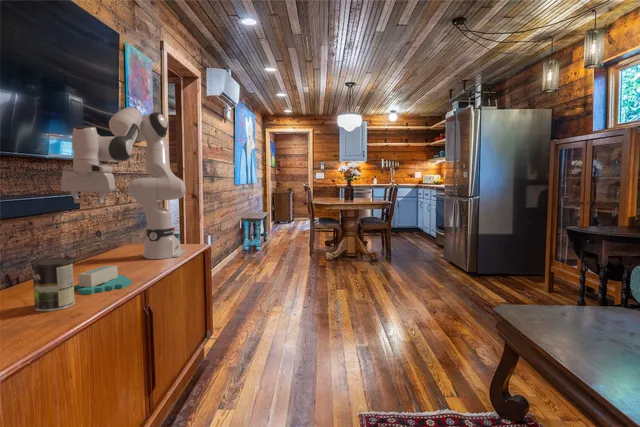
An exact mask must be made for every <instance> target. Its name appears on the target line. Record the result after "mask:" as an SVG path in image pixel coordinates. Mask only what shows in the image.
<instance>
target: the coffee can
mask: <svg viewBox="0 0 640 427" xmlns="http://www.w3.org/2000/svg"><path fill="white" fill-rule="evenodd" d="M73 261H74V259H73V258H72V257H62V256H61V257H60V256H59V257H51V258H43V259H38V260H34V261H32V262H31V263H30V264H31V270H32V271H31V272H32V281H33V282H32V284H33V285H32V286H33V298H34V310H35V311H36V312H57V311H61V310H64V309H68V308H70V307H73V306H74V305H75V304H76V300H75V290H74V286H75V284H74V269H73V268H74V266H73Z"/></svg>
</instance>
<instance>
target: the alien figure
mask: <svg viewBox="0 0 640 427" xmlns="http://www.w3.org/2000/svg"><path fill="white" fill-rule="evenodd" d="M132 283H133V282H132V279H129V277H127V276H126V275H124V274H118V278H115V279H112V280H110V281H107V282H104V283H101V284H99V285H96V286H93V287H81V286H79V283H78V284H76V285H74V291H78V295H93V294H95V293H103V292H106V291H107V292H108V291H114V290H116V289H117V290H122V289H124V288H126V287H127V286H129V285H132Z"/></svg>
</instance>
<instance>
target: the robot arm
mask: <svg viewBox="0 0 640 427" xmlns="http://www.w3.org/2000/svg"><path fill="white" fill-rule="evenodd" d="M142 115H143V114H142V113H141V112H140V111H139V110H138V109H137V108H135V107H131V106H130V107H124V108H122V109H120V110H118V111H117V112H116V113H115V114H113V115H112V116H111V118H110V119H109V121H108V127H109V130H110V132H111V134H113V135H114V136H101V135H100V134H98V131H97V128H96V126H95V125H94V126H93V125H78V126H75V127H74V128H73V129H72V134H71V135H72V137H71V145H72V146H71V147H72V151H73V159H72V160H73V161H72V163H73V167H65V168H64V169H63V170H62V171H61V175H62V176H61V181H60V182H61V184H60V187H61V190H62V191H63V192H70V195H71V196H72V197H73V198H72V199H74V200H73V202H74V204H81V203H82V199H81V198H80V197H79V196H78V195H79V192H98V193H99V194H98V195H99V198H96V203H97V204H103V203H104V199H105V197H106V195H107V192H114V191H115V188H116V182H115V176H114V174H113V167H112V166H111V165H107V164H104V163H101V162H100V161H118V162H119V161H120V162H126V161H127V160H129V159H130V158H131V157H132V154H133V152H134V151H133V150H134V148H135V145H136V144H139V143H142V142H144V141H145V143H146V146H145V164H144V166H145V169H146V171H147V172H148V173H149V174H150V175H152V176H154V177H138V178H133V179H132V180H131V181H130V183H129V184H128V187H127V189H128V190H127V191H128V193H129V195H130V197H131V198H132V199H133V200H135V201H136V202H137V203H138V204H140V206H141V207H142V209H143V210H144V213H145V220H146V230H145V234H146V238H145V239H144V245H143V248H144V249H143V253H142V254H141V257H143V258H144V259H146V260H147V259H148V260H161V259H162V260H163V259H170V258H179V257H180V256H182V255H183V254H185V253H186V249H183V248H182V247H181V241H180V240H179V239H178V238H177V237H176V236H175V235H174V232H175V231H176V227H172V215H171V214H172V213H171V212H170V210H169V209H167V208H165V207H163V206H160V205H159V204H158V202H157V201H173V200H179V199H183V197H184V196H185V194H186V190H187V187H186V184H185V182H184V181H183V180H182V178H180V177H178V176H177V175H175V174H174V173H173V171H172V169H171V165H170V164H171V163H170V151H169V145H168V142H167V140H166V139H165V137H166V136H167V133H168V128H169V124H168V121H167V118H166V117H165V116H164V114H162V113H160V112H158V111H157V112H151V113H149V114H146V115H143V116H142Z"/></svg>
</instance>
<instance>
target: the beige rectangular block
mask: <svg viewBox="0 0 640 427" xmlns="http://www.w3.org/2000/svg"><path fill="white" fill-rule="evenodd" d="M118 272H119V270H118V265H103V266H100V267H95V268H93V269H90V270H87V271H84V272H81V273H78V274H77V276H78V284H79V286H81V287H93V286H96V285H99V284H101V283H104V282H107V281H110V280H112V279H115V278H118V275H119V273H118Z"/></svg>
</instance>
